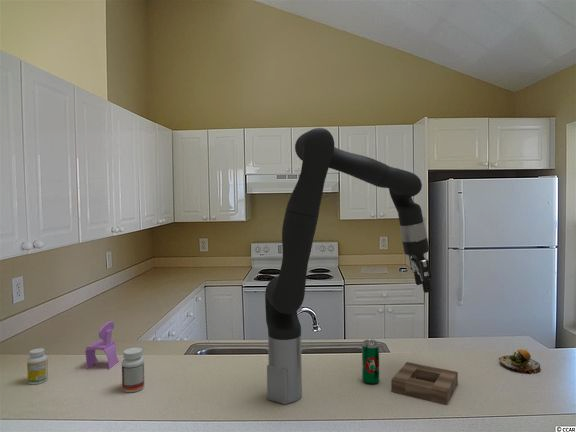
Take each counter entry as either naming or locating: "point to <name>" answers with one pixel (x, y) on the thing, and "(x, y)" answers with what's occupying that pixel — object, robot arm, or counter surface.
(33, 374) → the supplement bottle
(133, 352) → the pill bottle
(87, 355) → the toy chair
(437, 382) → the socket block
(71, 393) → the counter surface
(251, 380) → the counter surface
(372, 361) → the soda can
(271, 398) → the robot arm
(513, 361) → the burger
